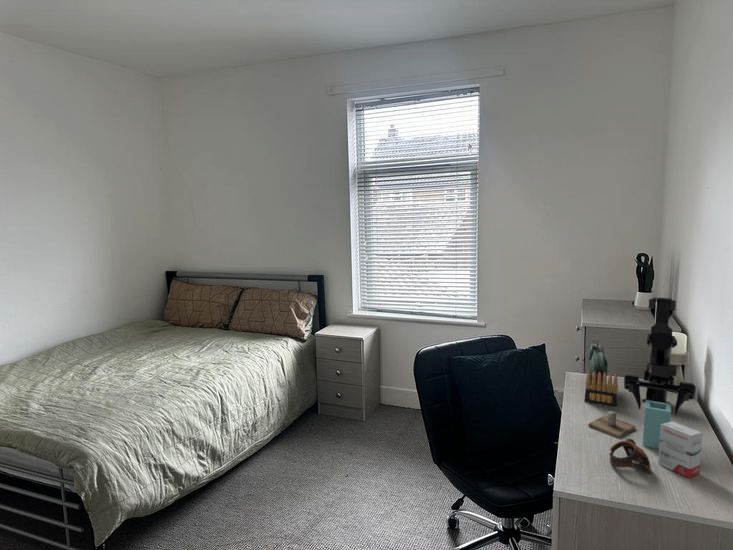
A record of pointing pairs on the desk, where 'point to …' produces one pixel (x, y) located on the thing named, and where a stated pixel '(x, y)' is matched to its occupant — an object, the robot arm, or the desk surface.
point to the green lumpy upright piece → (597, 361)
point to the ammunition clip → (598, 394)
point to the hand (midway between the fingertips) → (657, 412)
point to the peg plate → (610, 429)
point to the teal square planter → (655, 422)
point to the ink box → (680, 449)
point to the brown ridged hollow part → (629, 455)
